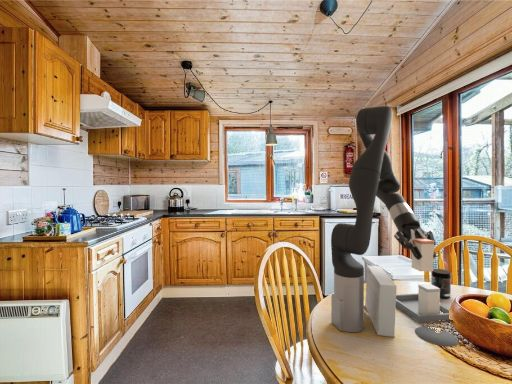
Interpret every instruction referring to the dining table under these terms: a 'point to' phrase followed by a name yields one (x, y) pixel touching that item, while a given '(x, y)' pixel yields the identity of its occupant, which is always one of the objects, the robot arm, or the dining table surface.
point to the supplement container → (442, 282)
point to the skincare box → (381, 300)
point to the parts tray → (410, 307)
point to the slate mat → (436, 336)
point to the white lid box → (428, 299)
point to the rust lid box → (424, 255)
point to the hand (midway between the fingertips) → (426, 258)
